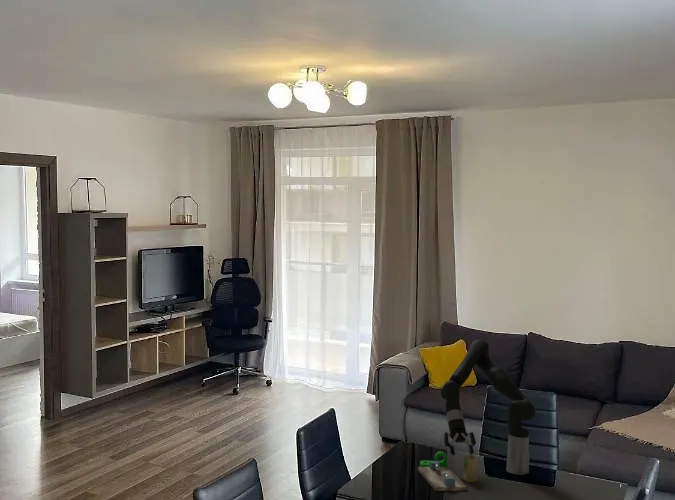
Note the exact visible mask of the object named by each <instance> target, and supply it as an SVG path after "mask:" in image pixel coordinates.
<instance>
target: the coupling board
mask: <svg viewBox="0 0 675 500" xmlns="http://www.w3.org/2000/svg"><path fill="white" fill-rule="evenodd" d="M429 461H430V463H429V467H420V466H418V467H417V471H418V472H419V473H420V475H421V476H422V477H423V478H424V480H425V481H426V482H427V483H428V484H429V485H430V486H431V488H432V489H433V490H434V491H435V492H446V491H447V492H451V491H453V492H454V491H455V492H456V491H457V492H458V491H461V492H464V491H467V490H468V486H467V485H465V483H464V482H463V481H462V480H461V479H460V478H459V477H458V476H457V475H456V474H455V473H454V472H453V471H452V470H451V469H450V468H449V467H448V466H447V467H440V463H439V462H438V461H434V460H429Z"/></svg>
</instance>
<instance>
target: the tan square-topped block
mask: <svg viewBox="0 0 675 500" xmlns="http://www.w3.org/2000/svg"><path fill="white" fill-rule="evenodd" d="M478 460H479V459H478V458H477V457H475V456H474V455H465V456H464V459H463V470H462V471H463V475H462V479H463V480H464V481H465V482H466V483H477V480H478V479H477V478H478V463H479V461H478Z"/></svg>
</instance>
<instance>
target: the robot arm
mask: <svg viewBox="0 0 675 500" xmlns="http://www.w3.org/2000/svg"><path fill="white" fill-rule="evenodd" d="M475 365H476V366H477V367H478V368H479V369H480V371H482V372H483V375H484V376H485V377H486V379H487V380H488V381H489V383H490V385H491V386H492V387H493V389H494V390H495V391H496V392H497V393H499V394H500V395H502V396H503V397H505V398H506V399H509V400H510V402H509V404H508V407H507V430H508V437H507V440H508V441H507V453H506V454H507V455H506V466H505V467H506V472H507V473H510V474H513V475H518V476H520V475H521V476H523V475H527V474H529V472H530V456H531V455H530V452H529V443H530V442H529V440H530V430H529V429H528V428H527V427H524V426H522V422H523V421H530V420H533V419H534V418H535V416H536V409H535V407H534V405H533V403H532V401H530V399H529V398H528V397H526V395H525V394H524V393H523V392H522V391H521V390H520V388H519V387H518V386H517V385H516V384H515V382H514V381H513V380H512V379H511V377H510V376H509V374H508V372H507V371H505V370H504V369H503V368H502V367H500V366H497V365H495V364H494V362H493V361H492V360H491V357H490V347H489V344H488V342H487V341H486V340H484V339H476V340H473V341H472V343H471V345H470V346H469V348H468V350H467V352H466V355H465V356H464V358H463V359H462V361H461V362H460V363H459V365H458V366H457V368H456V369H455V370H454V372H453V373H452V374H451V376H450V378H449V380H447V381H446V382H445V383H444V384H443V386H442V387H441V390H440V396H441V399H444V400H446V401H445V403H444V405H445V411H446V420H447V426H448V430H449V432H446V431H445V432H444V434H443V440H444V441H443V442H444V447H448V449H449V452H450V454H451V456H455V455H456V452H455V447H454V444H455V443H456V444H457V443H458V444H459V443H460V444H463V443H464V444H465V445H466V446H467V447H468V452H469V456H473V454H474V446H476V444H477V442H476V438H475V435H474V432H473V431H470V432H469V433H468V432H467V430H466V424H465V418H464V414H463V412H462V408H461V403H460V400H461V399H460V389H461V387H462V386H463V385H464V384H465V383H466V381H467V380H468V378H469V377H470V375H471V373H472V371H473V369H474V366H475ZM449 438H451V441H450V442H449Z"/></svg>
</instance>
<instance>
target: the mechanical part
mask: <svg viewBox="0 0 675 500" xmlns="http://www.w3.org/2000/svg"><path fill="white" fill-rule="evenodd" d="M440 457H443V459H442V460H439V458H440ZM433 459H434V460H433V461H438V462H439V463H440V467H448V464H447V463H448V457H447V454H446V453H445V452H444V451H443V450H442V451H437V452H436V453H435V454H434V458H433ZM430 461H431V460H427V459H425V460H420V461H419V467H429V463H430Z"/></svg>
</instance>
